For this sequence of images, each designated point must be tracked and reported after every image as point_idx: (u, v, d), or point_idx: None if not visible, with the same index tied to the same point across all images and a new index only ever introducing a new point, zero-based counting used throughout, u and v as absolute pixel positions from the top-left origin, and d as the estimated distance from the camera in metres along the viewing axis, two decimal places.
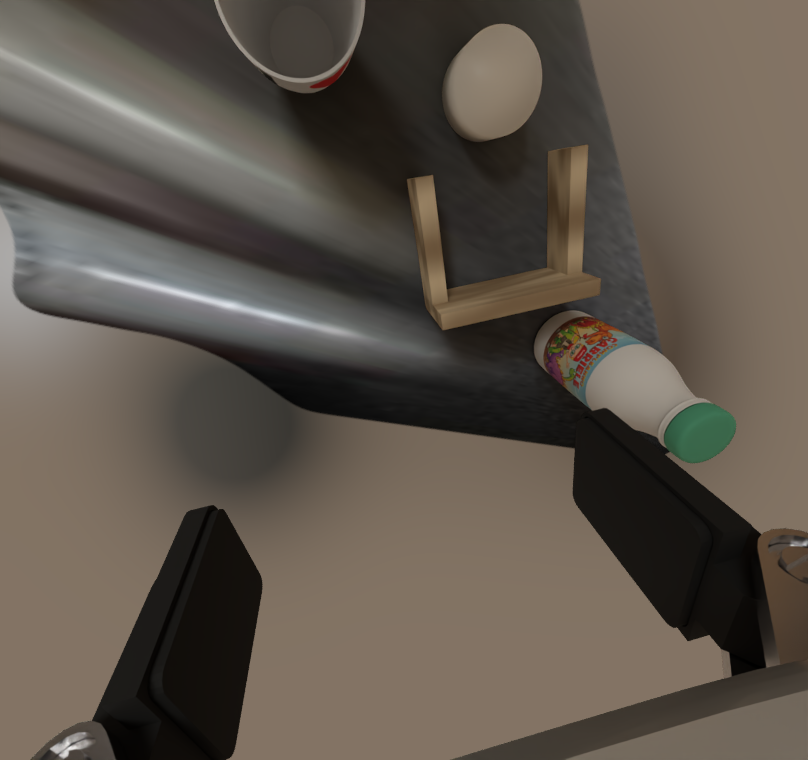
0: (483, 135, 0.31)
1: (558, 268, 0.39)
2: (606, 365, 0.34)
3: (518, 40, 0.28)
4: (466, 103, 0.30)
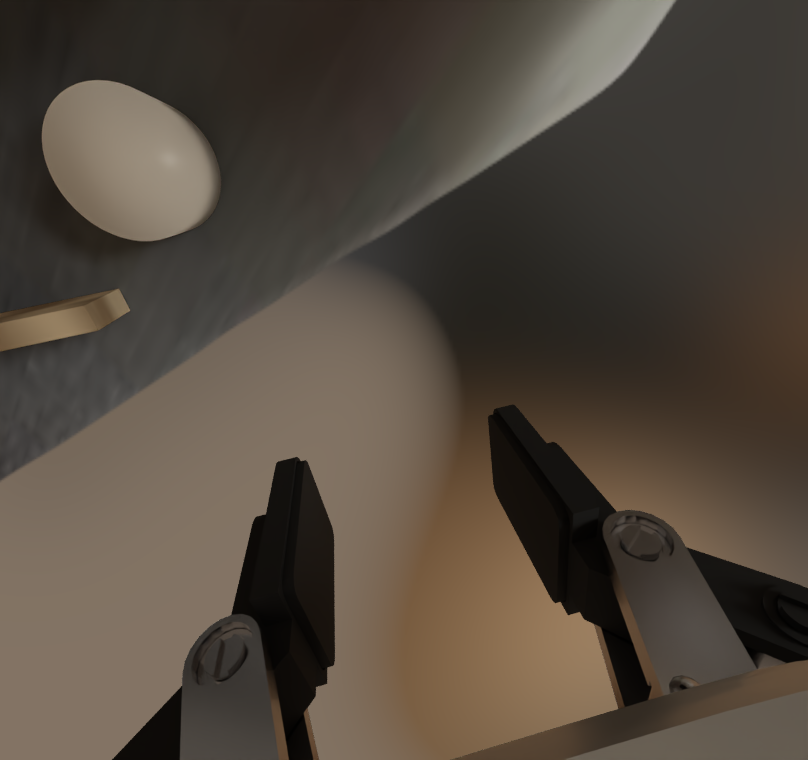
0: (45, 146, 0.18)
1: None
2: None
3: (188, 194, 0.20)
4: (77, 106, 0.18)
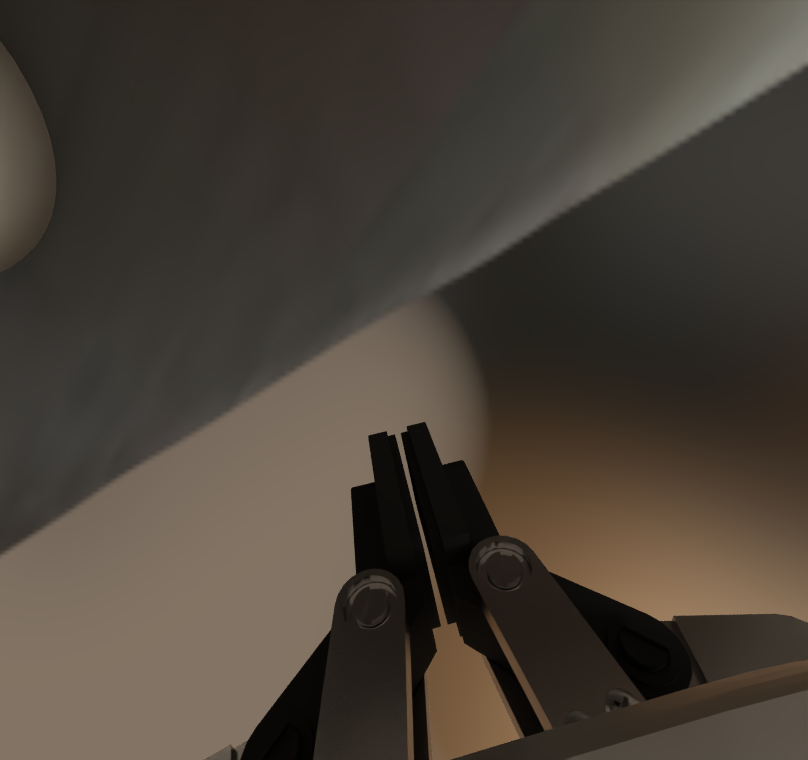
0: None
1: None
2: None
3: None
4: None
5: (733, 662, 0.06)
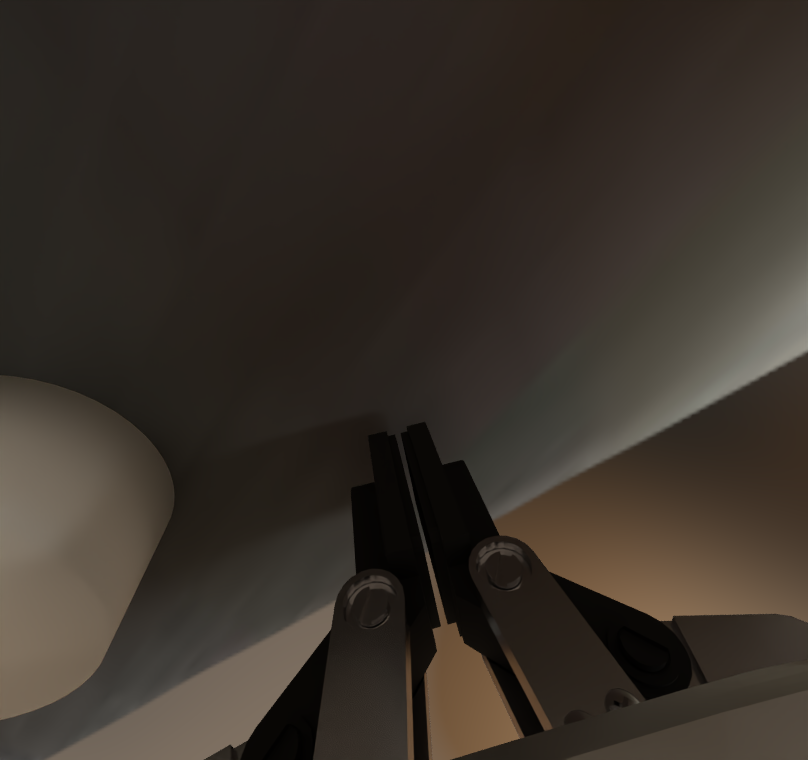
0: None
1: None
2: None
3: (75, 645, 0.08)
4: None
5: (733, 663, 0.06)
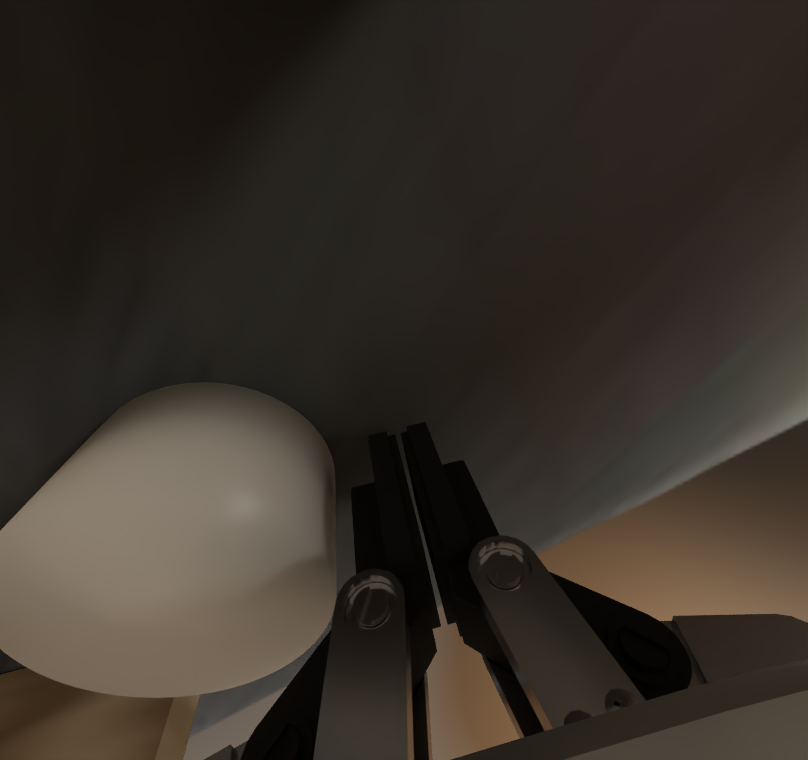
0: None
1: None
2: None
3: (303, 623, 0.09)
4: (59, 536, 0.07)
5: (733, 663, 0.06)
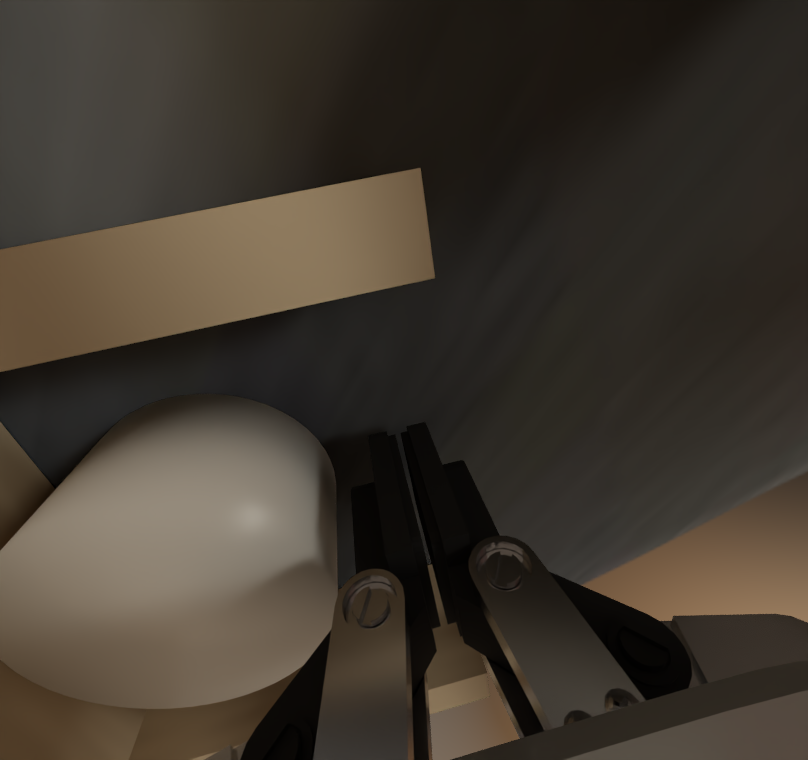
0: None
1: None
2: None
3: (307, 629, 0.09)
4: (55, 557, 0.07)
5: (733, 663, 0.06)
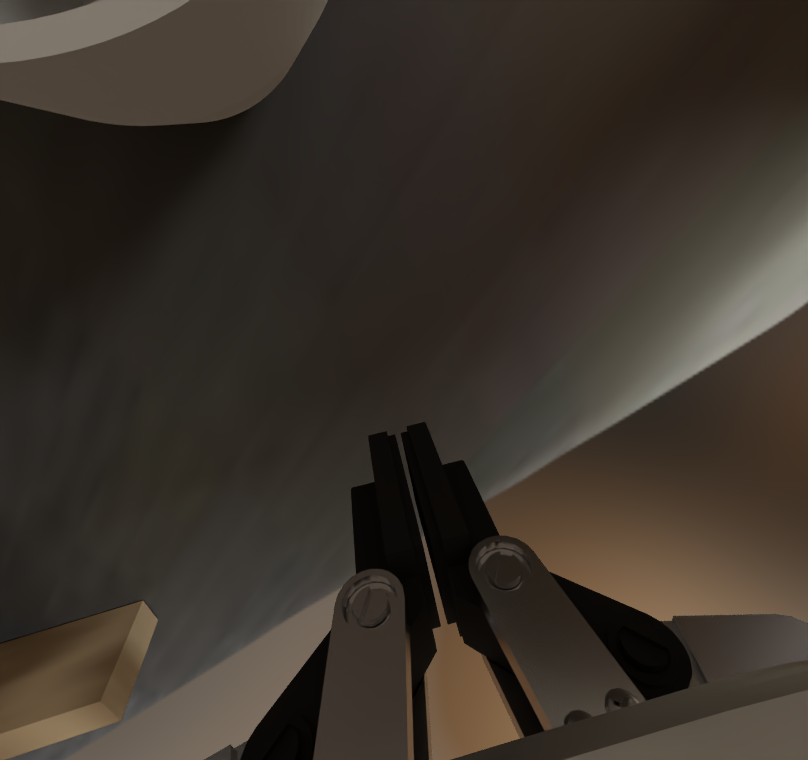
0: None
1: None
2: None
3: None
4: None
5: (733, 663, 0.06)
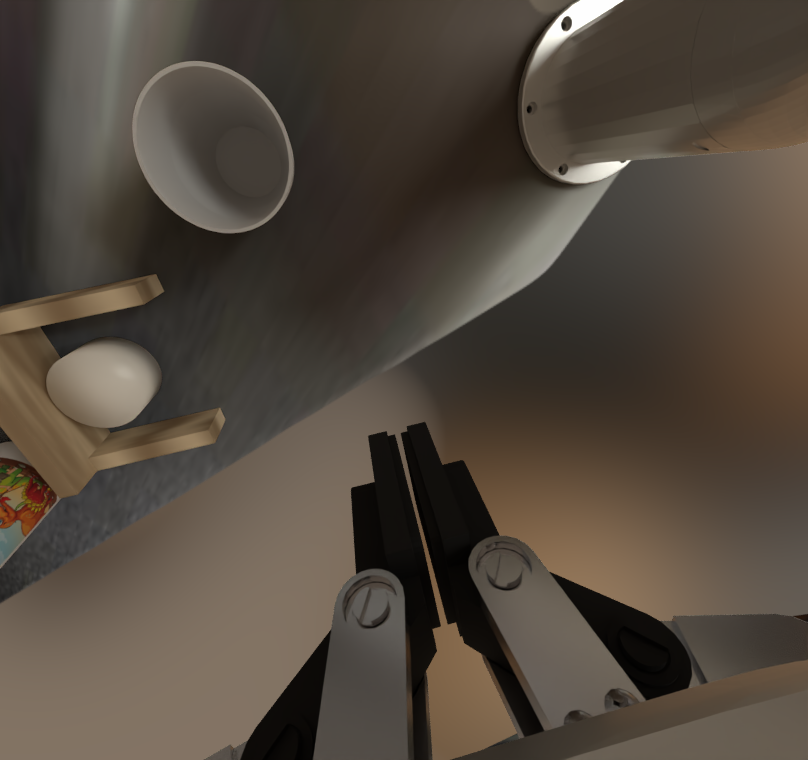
0: (48, 389, 0.31)
1: (101, 446, 0.36)
2: None
3: (136, 398, 0.33)
4: (64, 367, 0.31)
5: (733, 662, 0.06)
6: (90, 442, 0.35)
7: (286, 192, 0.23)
